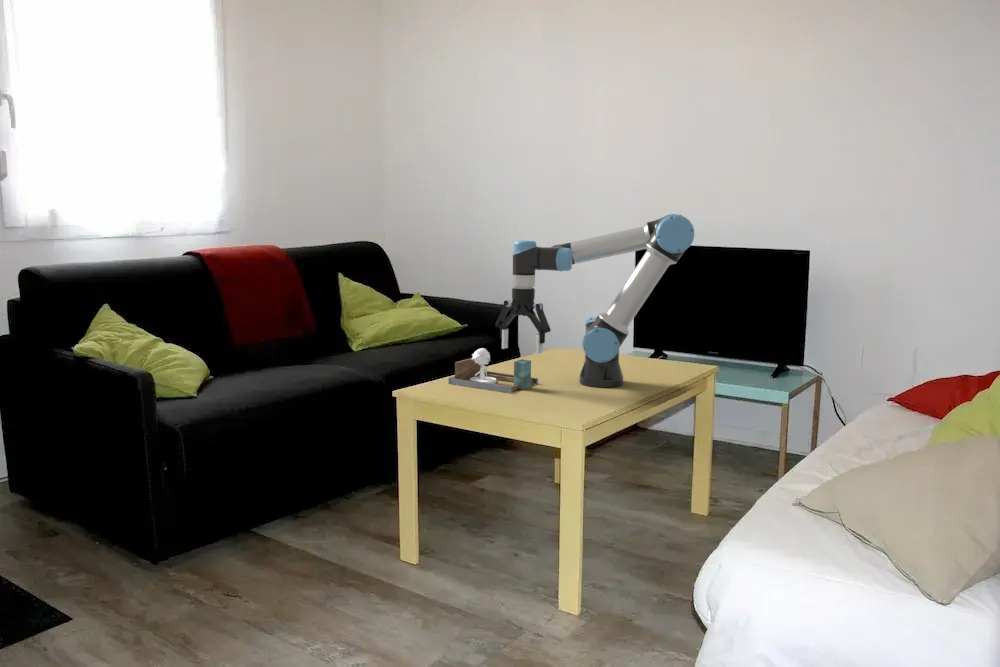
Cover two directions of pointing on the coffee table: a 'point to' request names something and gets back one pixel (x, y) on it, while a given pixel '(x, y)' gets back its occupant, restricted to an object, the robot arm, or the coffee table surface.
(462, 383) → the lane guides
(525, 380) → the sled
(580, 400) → the coffee table surface
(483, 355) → the figurine
